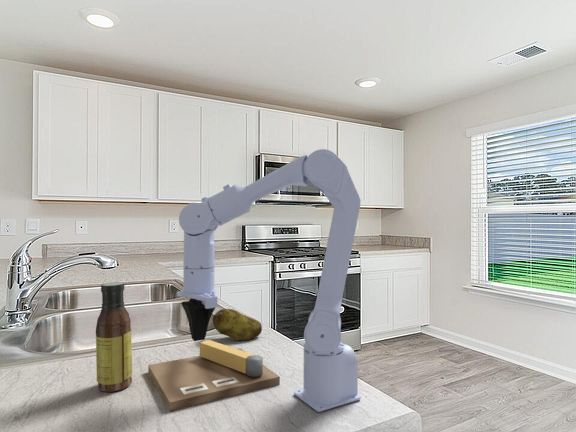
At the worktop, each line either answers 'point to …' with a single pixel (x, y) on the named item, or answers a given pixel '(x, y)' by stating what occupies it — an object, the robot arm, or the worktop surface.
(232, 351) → the swing bar
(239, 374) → the label board
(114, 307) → the sauce bottle
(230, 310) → the potato
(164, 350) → the worktop surface
